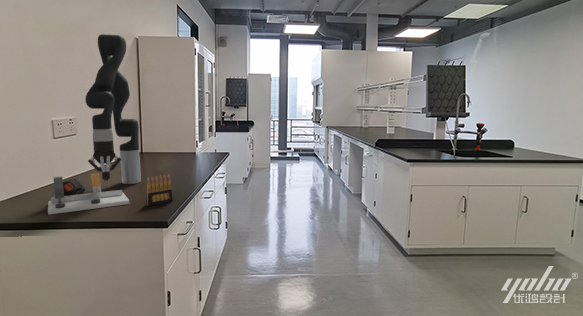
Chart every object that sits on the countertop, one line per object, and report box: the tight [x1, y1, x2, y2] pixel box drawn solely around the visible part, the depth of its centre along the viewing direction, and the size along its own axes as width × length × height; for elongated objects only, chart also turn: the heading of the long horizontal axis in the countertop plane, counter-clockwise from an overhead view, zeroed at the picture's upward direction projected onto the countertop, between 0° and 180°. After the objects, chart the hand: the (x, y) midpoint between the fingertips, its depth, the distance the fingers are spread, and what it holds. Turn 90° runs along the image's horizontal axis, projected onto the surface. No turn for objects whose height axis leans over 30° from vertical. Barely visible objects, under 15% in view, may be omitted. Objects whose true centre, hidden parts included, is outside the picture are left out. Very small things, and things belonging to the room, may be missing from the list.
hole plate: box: [47, 192, 130, 215], centre depth 151 cm, size 16×28×3 cm, turn 122°
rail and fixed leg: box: [50, 176, 123, 204], centre depth 150 cm, size 11×26×10 cm, turn 122°
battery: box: [63, 178, 86, 196], centre depth 165 cm, size 12×8×7 cm
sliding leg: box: [90, 172, 102, 198], centre depth 152 cm, size 11×3×8 cm, turn 32°
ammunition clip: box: [145, 173, 174, 207], centre depth 152 cm, size 11×2×12 cm, turn 135°
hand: (106, 180), depth 157 cm, fingers closed
